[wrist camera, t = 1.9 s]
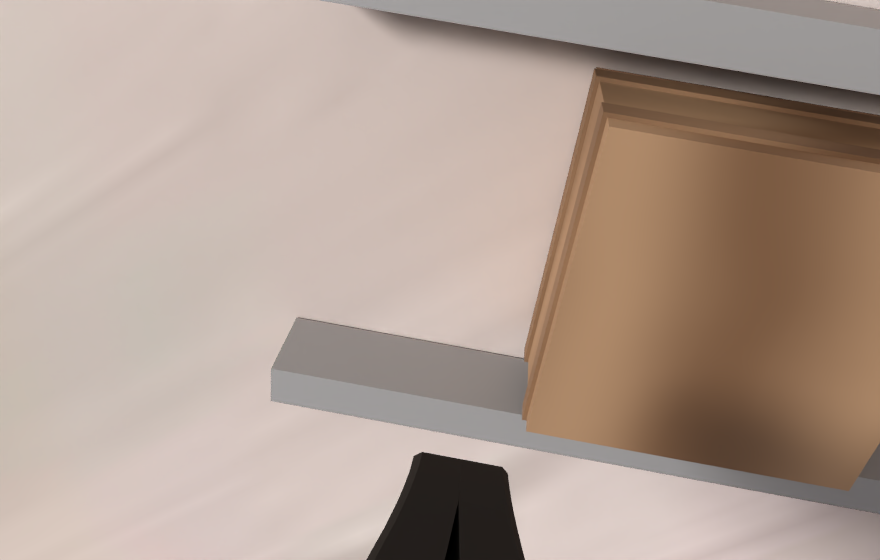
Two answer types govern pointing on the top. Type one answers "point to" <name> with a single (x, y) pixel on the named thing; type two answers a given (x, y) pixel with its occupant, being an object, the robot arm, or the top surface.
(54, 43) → the top surface
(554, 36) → the bay
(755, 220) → the tan cardboard box
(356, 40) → the top surface
